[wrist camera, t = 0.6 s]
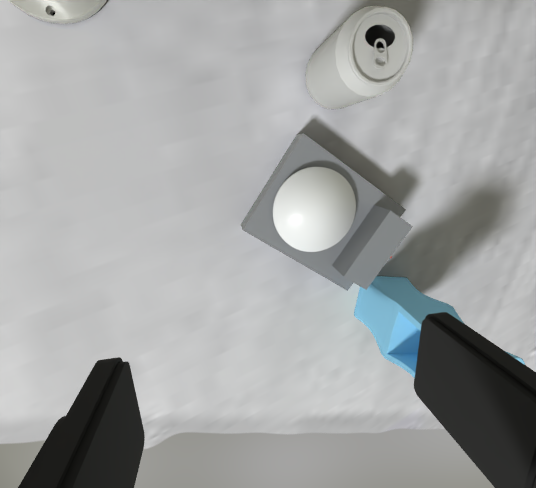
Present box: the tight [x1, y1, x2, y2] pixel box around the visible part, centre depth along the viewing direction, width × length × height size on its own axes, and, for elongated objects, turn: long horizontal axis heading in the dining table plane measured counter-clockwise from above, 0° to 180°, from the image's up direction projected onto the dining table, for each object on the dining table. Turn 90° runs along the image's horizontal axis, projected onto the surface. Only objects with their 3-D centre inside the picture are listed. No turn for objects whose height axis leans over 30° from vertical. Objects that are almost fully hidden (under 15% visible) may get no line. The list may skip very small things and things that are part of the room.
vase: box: [354, 276, 525, 378], centre depth 39 cm, size 8×8×20 cm
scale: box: [241, 133, 413, 291], centre depth 39 cm, size 18×14×7 cm
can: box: [305, 5, 413, 110], centre depth 32 cm, size 8×8×12 cm
